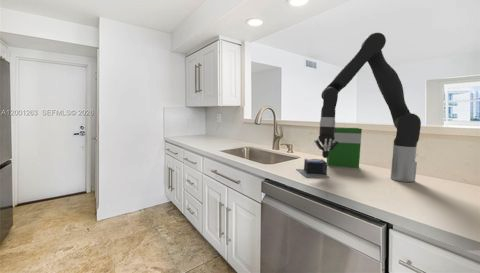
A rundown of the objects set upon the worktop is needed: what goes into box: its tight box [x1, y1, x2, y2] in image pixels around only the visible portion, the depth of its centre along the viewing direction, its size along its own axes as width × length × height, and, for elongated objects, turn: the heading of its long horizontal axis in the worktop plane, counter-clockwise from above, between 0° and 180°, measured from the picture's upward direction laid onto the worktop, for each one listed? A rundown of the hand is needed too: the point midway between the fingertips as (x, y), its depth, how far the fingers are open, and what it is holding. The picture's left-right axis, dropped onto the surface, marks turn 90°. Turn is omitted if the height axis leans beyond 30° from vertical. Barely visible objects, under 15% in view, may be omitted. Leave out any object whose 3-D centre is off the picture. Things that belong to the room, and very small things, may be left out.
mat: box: [296, 168, 331, 179], centre depth 121 cm, size 12×16×1 cm
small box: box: [303, 158, 328, 176], centre depth 122 cm, size 11×6×10 cm
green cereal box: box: [326, 126, 363, 169], centre depth 140 cm, size 18×7×24 cm, turn 76°
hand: (325, 157), depth 120 cm, fingers closed
